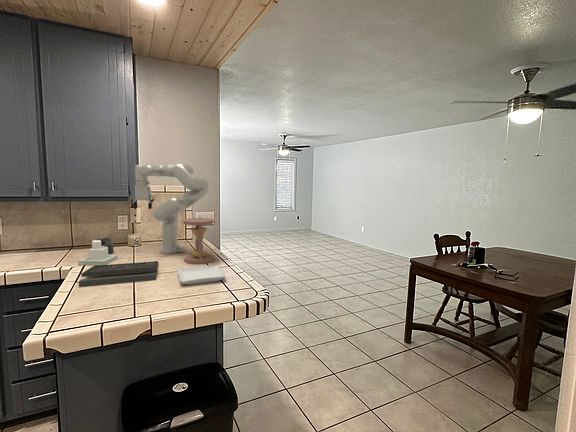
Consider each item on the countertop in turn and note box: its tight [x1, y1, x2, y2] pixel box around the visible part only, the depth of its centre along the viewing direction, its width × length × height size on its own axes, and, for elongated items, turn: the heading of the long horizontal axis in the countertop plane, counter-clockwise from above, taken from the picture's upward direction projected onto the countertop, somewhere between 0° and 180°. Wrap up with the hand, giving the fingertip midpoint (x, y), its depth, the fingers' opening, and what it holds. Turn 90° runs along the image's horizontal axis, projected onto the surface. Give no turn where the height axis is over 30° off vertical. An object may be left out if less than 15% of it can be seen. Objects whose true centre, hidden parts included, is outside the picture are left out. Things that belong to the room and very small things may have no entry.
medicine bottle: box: [88, 238, 109, 260], centre depth 174 cm, size 7×7×12 cm
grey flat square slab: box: [176, 265, 226, 285], centre depth 150 cm, size 21×21×3 cm
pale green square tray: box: [77, 254, 118, 266], centre depth 174 cm, size 14×14×2 cm
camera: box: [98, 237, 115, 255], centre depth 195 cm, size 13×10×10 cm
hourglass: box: [182, 217, 215, 265], centre depth 182 cm, size 18×18×25 cm
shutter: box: [78, 260, 159, 288], centre depth 155 cm, size 32×7×31 cm
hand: (142, 208), depth 204 cm, fingers open, 9 cm apart
